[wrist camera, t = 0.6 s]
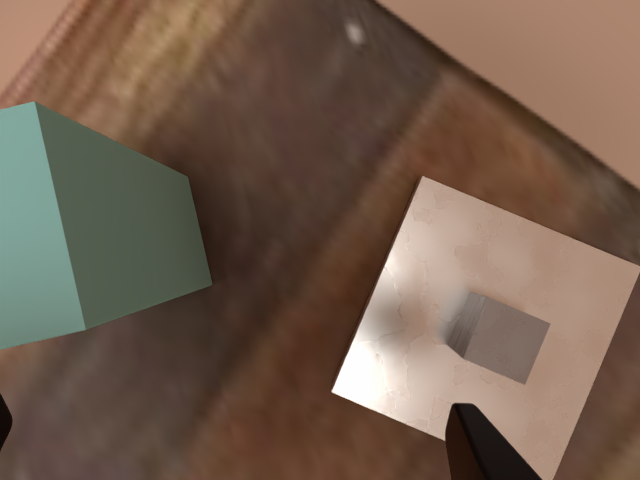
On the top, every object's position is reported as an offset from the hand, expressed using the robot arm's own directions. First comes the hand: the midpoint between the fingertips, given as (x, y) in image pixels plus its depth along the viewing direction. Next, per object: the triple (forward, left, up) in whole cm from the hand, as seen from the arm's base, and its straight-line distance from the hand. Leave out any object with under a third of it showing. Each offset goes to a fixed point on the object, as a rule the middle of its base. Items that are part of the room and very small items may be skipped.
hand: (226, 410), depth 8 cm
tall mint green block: (-5, +7, -14) cm, 17 cm away
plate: (+8, -6, -14) cm, 18 cm away
